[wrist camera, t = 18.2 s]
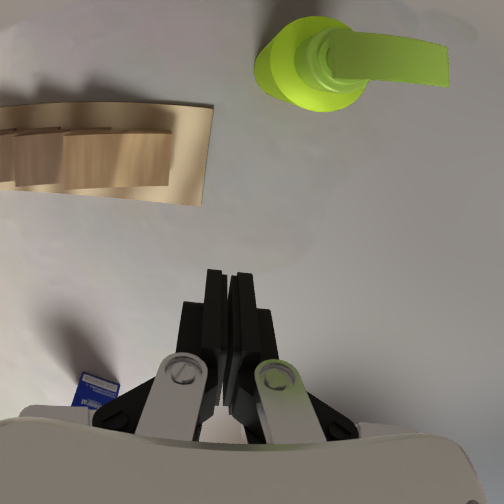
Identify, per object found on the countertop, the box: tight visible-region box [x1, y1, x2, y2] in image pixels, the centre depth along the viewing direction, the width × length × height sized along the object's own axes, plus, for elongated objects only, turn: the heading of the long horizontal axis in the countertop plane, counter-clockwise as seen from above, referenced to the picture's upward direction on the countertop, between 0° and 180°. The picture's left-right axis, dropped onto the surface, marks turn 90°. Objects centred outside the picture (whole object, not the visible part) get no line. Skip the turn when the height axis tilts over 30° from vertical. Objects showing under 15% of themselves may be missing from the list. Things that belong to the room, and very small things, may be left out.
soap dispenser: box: [254, 16, 449, 112], centre depth 18 cm, size 6×7×20 cm
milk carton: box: [71, 372, 120, 410], centre depth 39 cm, size 7×7×20 cm
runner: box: [0, 102, 214, 207], centre depth 29 cm, size 29×10×1 cm, turn 81°
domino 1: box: [0, 126, 60, 182], centre depth 25 cm, size 2×5×10 cm
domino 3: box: [63, 130, 173, 190], centre depth 27 cm, size 2×5×10 cm
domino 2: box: [13, 127, 111, 187], centre depth 26 cm, size 2×5×10 cm
